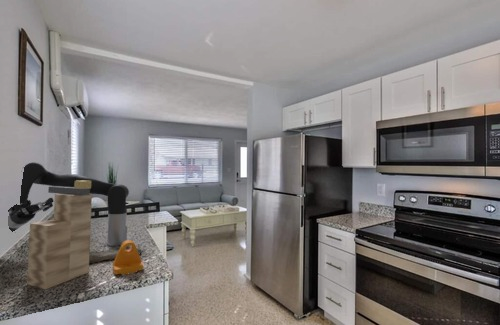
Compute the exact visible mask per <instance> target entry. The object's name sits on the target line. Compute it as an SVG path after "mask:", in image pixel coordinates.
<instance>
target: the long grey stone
mask: <svg viewBox="0 0 500 325" xmlns="http://www.w3.org/2000/svg"><path fill="white" fill-rule="evenodd" d="M130 248H131V247H130ZM130 248H128V247H127V248H125V250H129V249H130ZM136 248H137V251H138V254H139V253H141V254H142V248H138V247H136ZM118 251H119V249H114V250H106V251H105V250H103V251H102V250H101V251H97V250H91V251H89V264H92V263H93V264H94V263H95V264H96V263H99V262H102V261H109V260H110V261H112V260H115V258H116V256H117V254H118Z"/></svg>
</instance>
